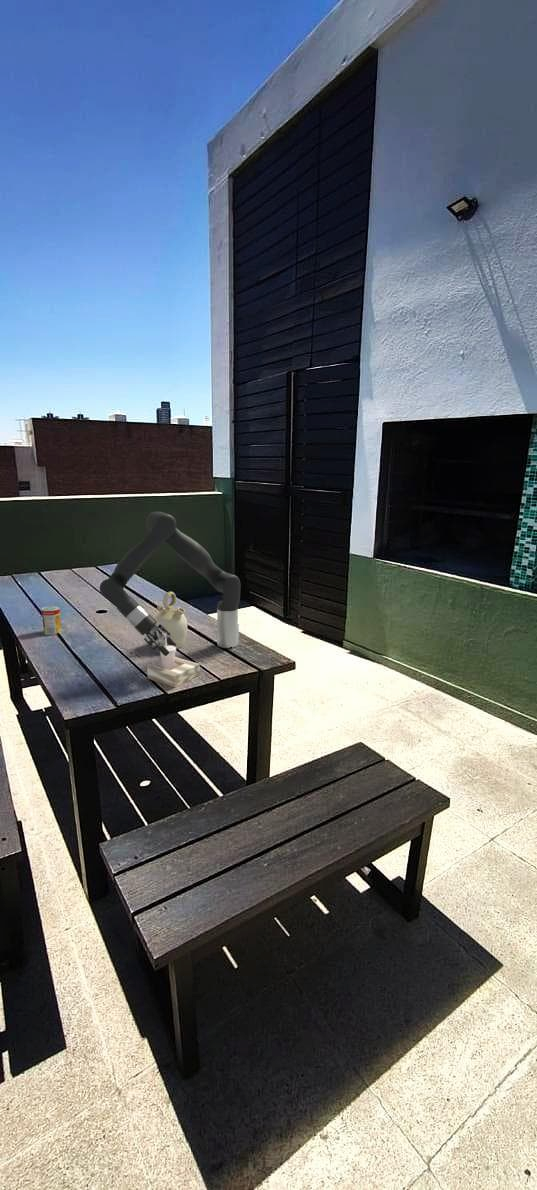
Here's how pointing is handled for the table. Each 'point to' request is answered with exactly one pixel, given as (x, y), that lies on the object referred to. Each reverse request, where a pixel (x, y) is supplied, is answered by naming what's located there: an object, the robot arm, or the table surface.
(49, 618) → the canned food
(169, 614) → the jug
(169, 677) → the notched board
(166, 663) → the white cup with straw
